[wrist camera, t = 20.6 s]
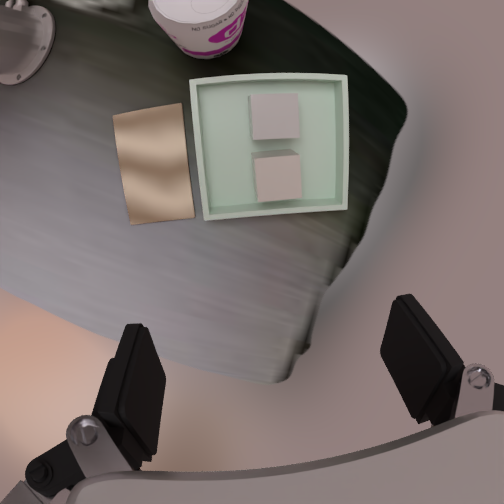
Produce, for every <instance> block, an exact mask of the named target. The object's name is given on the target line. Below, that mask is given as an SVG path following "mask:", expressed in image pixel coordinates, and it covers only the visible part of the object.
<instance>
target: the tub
mask: <svg viewBox="0 0 504 504" xmlns="http://www.w3.org/2000/svg"><path fill="white" fill-rule="evenodd" d="M189 83H190V95H191V107H192V118H193V128H194V138H195V148H196V157H197V166H198V175H199V184H200V192H201V200H202V208H203V216H204V221H208V220H218V219H229V218H240V217H251V216H263V215H275V214H288V213H302V212H316V211H331V210H347V203H348V175H349V109H348V82H347V75H336V74H316V73H262V74H242V75H228V76H217V77H207V78H199V79H191V80H189ZM279 93H298V107H299V132H300V138H284V139H263V140H253V139H252V138H251V136H250V126H249V111H248V96H249V95H252V94H279ZM282 149H292V150H293V151H295V152H296V153H298V154H299V155H300V168H301V188H302V198H296V199H286V200H276V201H266V202H258V200H257V197H256V194H255V190H254V180H253V169H252V159H251V152H259V151H270V150H282Z"/></svg>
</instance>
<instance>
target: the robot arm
mask: <svg viewBox="0 0 504 504" xmlns="http://www.w3.org/2000/svg"><path fill="white" fill-rule="evenodd" d="M13 3H14V1H13V0H9V1H7V2H6V4H5V6H3V5H0V82H1V83H2V84H6V85H14V84H19V83H21V82H24V81H25V80H27V79H28V78H30V77H31V76H32V75H33V74H34V73H35V72H36V71H37V70H38V69H39V68H40V67H41V65H42V64H43V62H44V61H45V59H46V58H47V56H48V54H49V52H50V49H51V47H52V44H53V41H54V37H55V20H54V17H53V15H52V13H51V12H50V11H49V10H48V9H46V8H44V7H42V6H37V5H36V6H29V7H28V4H29V3H28V2H27V0H16V4H15V5H14V6H13ZM380 354H381V357H382V359H383V361H384V363H385V365H386V367H387V369H388V371H389V373H390V374H391V376H392V378H393V380H394V382H395V384H396V386H397V388H398V390H399V392H400V394H401V396H402V398H403V400H404V402H405V405H406V407H407V408H408V411H409V413H410V415H411V417H412V418H414V419H415V418H416V421H417V422H418V424H420V423H423V422H426V421H428V420H430V422H431V424H432V425H431V428H429V429H426V430H424V431H421V432H418V433H415V434H412V435H410V436H407V437H404V438H401V439H398V440H395V441H392V442H388V443H385V444H382V445H379V446H375V447H372V448H368V449H364V450H360V451H357V452H353V453H349V454H344V455H341V456H336V457H332V458H326V459H321V460H316V461H311V462H305V463H300V464H292V465H286V466H279V467H270V468H261V469H250V470H236V471H217V472H216V471H215V472H168V471H142V470H141V469H140V467H141V466H142V461H148V462H151V460H152V455H155V454H156V453H157V445H158V436H159V428H160V421H161V413H162V406H163V398H164V391H165V385H166V376H165V373H164V370H163V367H162V365H161V362H160V360H159V357H158V354H157V352H156V349H155V346H154V344H153V341H152V338H151V335H150V332H149V330H148V328H147V327H144V326H143V325H142V324H141V323H140V324H127V325H126V326H125V329H124V332H123V335H122V337H121V340H120V343H119V346H118V349H117V352H116V355H115V358H111V359H110V361H109V362H108V365H107V368H106V371H105V374H104V377H103V380H102V383H101V386H100V389H99V392H98V395H97V398H96V402H95V405H94V408H93V412H92V415H91V416H90V415H82V416H80V417H77V418H76V419H74V420H73V421H72V422H71V423H70V424H69V426H68V428H67V431H66V438H67V439H66V440H65V441H63V442H62V443H60V444H58V445H57V446H55V447H54V448H52V449H50V450H49V451H47V452H45V453H44V454H42V455H40V456H38V457H37V458H35V459H33V460H32V461H31V462H30V463H29V464H28V466H27V468H26V471H25V478H26V480H25V481H24V482H23V481H21V480H20V481H19V482H18V484H17V485H16V486H15V487H14V488H13V489H12V490H11V491H10V493H9V494H8V495H7V496H6V497H5V498H4V499H3V501H2V502H1V503H0V504H504V386H503V385H500V384H497V383H494V376H493V374H492V372H491V371H490V370H489V369H488V368H487V367H485V366H484V365H481V364H476V363H475V364H470V365H468V366H467V367H465V366H464V365H463V363H464V362H463V361H462V359H461V358H460V356H459V355H458V353H457V352H456V351H455V349H454V348H453V347H452V345H451V344H450V342H449V341H448V340H447V338H446V337H445V336H444V334H443V333H442V332H441V331H440V329H439V328H438V326H437V325H436V324H435V323H434V321H433V320H432V319H431V317H430V316H429V315H428V314H427V312H426V311H425V310H424V309H423V307H422V306H421V305H420V304H419V302H418V301H417V300H416V299H415V297H414V296H413V295H412V294H406V295H400V296H397V298H396V300H394V301H393V303H392V306H391V310H390V315H389V319H388V322H387V326H386V330H385V334H384V338H383V341H382V345H381V348H380Z"/></svg>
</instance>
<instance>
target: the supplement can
mask: <svg viewBox="0 0 504 504" xmlns="http://www.w3.org/2000/svg"><path fill="white" fill-rule="evenodd" d="M247 5H248V0H149V9H150V11H151V13H152V16H153V18H154V20H155V21H156V22H157V23H158V24H159V25H160V26H161V28H162V29H163V30H164V31H165V32H166V33H167V34H168V36H169V37H170V38H171V39H172V40H173V41H174V43H175V44H176V45H177V46H178V47H179V48H180V49H181V50H182V51H183V52H184V53H185V54H187V55H189V56H192V57H194V58H199V59H211V58H216V57H220V56H222V55H224V54H225V53H227V52H229V51H231V49H232V48H233V47H234V46H235V45H236V44H237V43H238V41H239V38H240V36H241V34H242V29H243V24H244V19H245V14H246V9H247Z"/></svg>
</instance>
